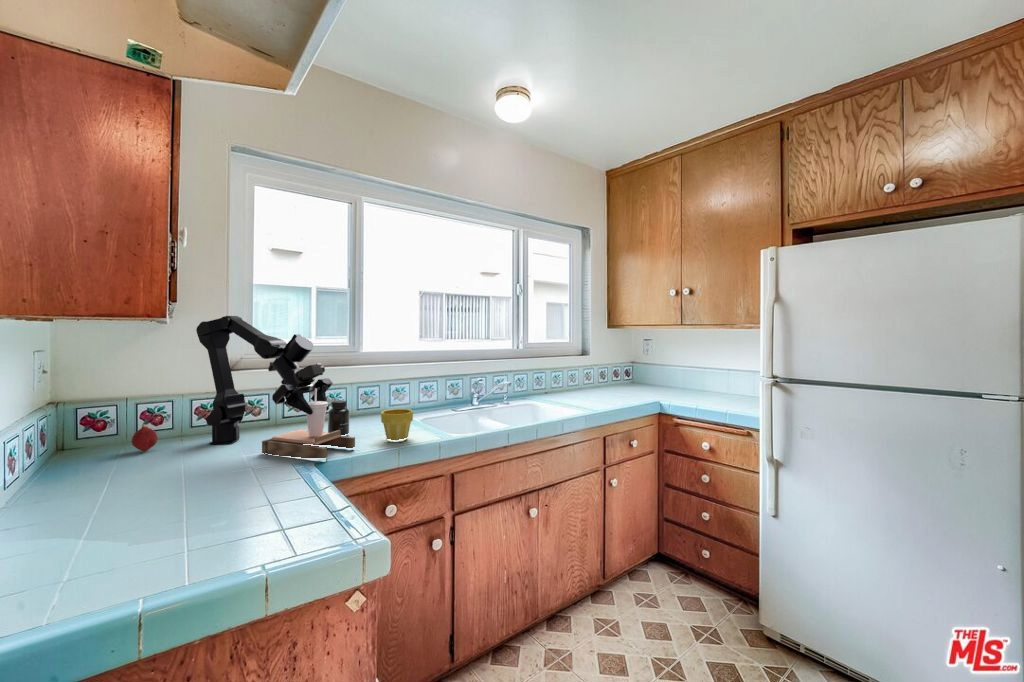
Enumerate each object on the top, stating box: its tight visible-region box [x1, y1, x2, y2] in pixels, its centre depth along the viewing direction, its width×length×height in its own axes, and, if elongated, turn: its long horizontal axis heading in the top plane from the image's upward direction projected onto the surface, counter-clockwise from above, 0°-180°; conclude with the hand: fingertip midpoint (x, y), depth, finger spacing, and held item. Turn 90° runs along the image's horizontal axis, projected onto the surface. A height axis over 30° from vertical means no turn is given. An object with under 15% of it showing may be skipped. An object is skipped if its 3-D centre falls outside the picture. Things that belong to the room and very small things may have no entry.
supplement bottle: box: [327, 400, 350, 435], centre depth 148 cm, size 7×7×12 cm
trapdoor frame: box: [261, 435, 356, 458], centre depth 128 cm, size 22×13×4 cm, turn 72°
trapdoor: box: [271, 429, 341, 445], centre depth 128 cm, size 16×10×5 cm, turn 72°
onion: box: [131, 424, 159, 453], centre depth 126 cm, size 6×6×8 cm
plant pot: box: [380, 408, 414, 440], centre depth 143 cm, size 10×10×10 cm
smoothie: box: [305, 388, 329, 437], centre depth 127 cm, size 6×6×14 cm
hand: (319, 411), depth 126 cm, fingers closed on smoothie, 6 cm apart
